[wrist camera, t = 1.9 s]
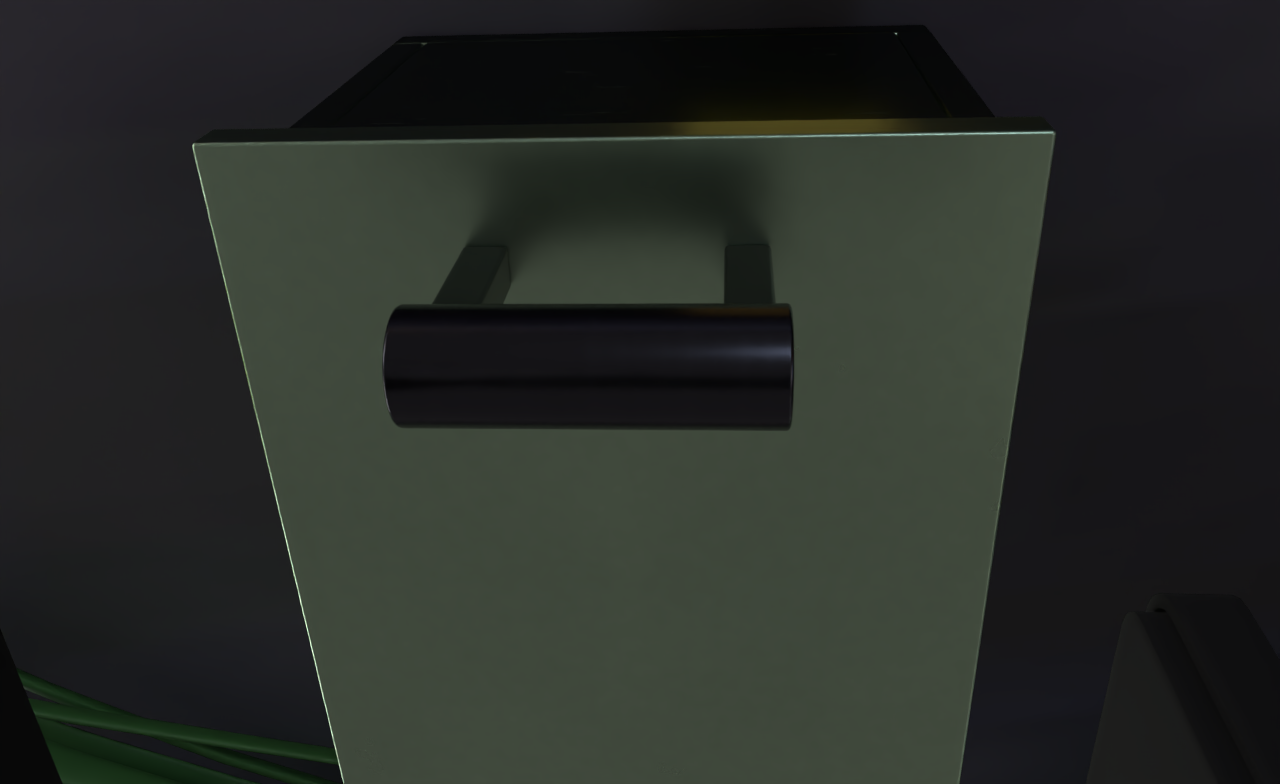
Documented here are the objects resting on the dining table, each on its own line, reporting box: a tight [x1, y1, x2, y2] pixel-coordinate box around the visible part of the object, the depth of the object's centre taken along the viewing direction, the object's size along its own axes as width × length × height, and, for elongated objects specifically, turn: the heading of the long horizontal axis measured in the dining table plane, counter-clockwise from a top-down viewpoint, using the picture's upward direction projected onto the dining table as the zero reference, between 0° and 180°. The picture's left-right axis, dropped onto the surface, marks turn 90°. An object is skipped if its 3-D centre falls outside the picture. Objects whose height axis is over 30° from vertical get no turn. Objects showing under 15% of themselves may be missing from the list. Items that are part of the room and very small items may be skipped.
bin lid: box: [192, 116, 1056, 784], centre depth 19 cm, size 16×13×5 cm
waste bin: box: [290, 25, 995, 128], centre depth 26 cm, size 16×13×11 cm
